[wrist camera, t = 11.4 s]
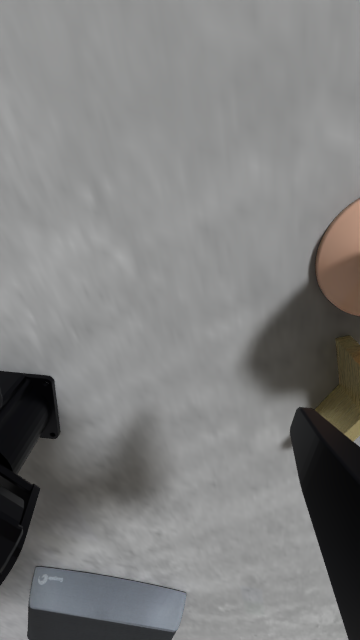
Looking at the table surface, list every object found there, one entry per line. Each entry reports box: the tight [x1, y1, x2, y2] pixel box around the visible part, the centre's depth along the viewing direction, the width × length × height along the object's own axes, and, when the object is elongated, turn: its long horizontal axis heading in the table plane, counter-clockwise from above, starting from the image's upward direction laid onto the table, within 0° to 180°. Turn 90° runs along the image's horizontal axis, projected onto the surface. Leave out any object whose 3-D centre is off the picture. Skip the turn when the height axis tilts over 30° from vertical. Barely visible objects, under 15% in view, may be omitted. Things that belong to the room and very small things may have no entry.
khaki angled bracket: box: [315, 335, 360, 441], centre depth 21 cm, size 8×3×4 cm, turn 175°
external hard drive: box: [27, 567, 186, 640], centre depth 38 cm, size 13×19×4 cm
